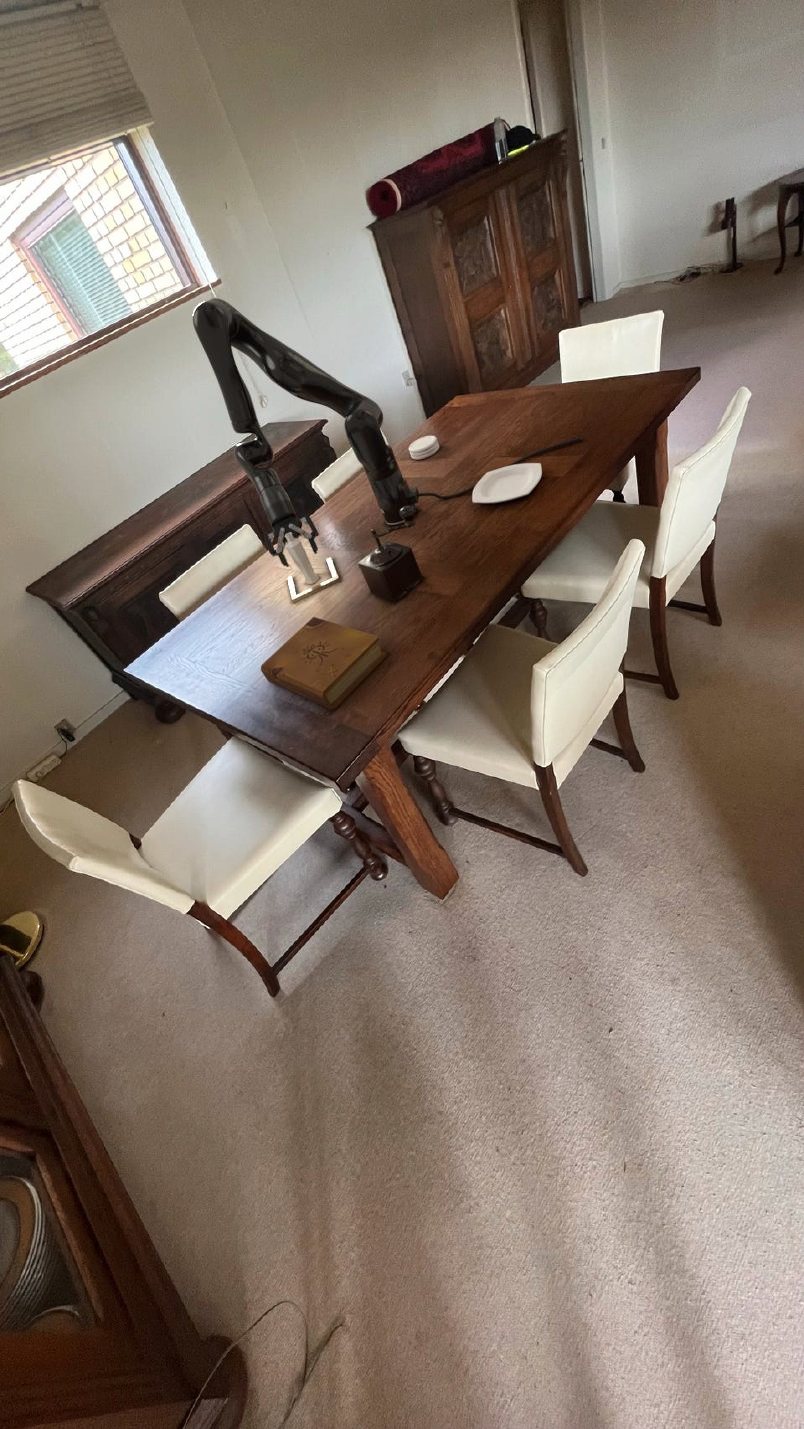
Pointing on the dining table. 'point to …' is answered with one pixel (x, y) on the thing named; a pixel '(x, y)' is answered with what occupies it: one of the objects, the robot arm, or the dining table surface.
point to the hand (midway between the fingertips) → (301, 559)
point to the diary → (323, 662)
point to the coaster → (424, 447)
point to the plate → (507, 483)
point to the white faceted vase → (300, 558)
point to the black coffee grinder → (392, 564)
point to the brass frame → (316, 588)
